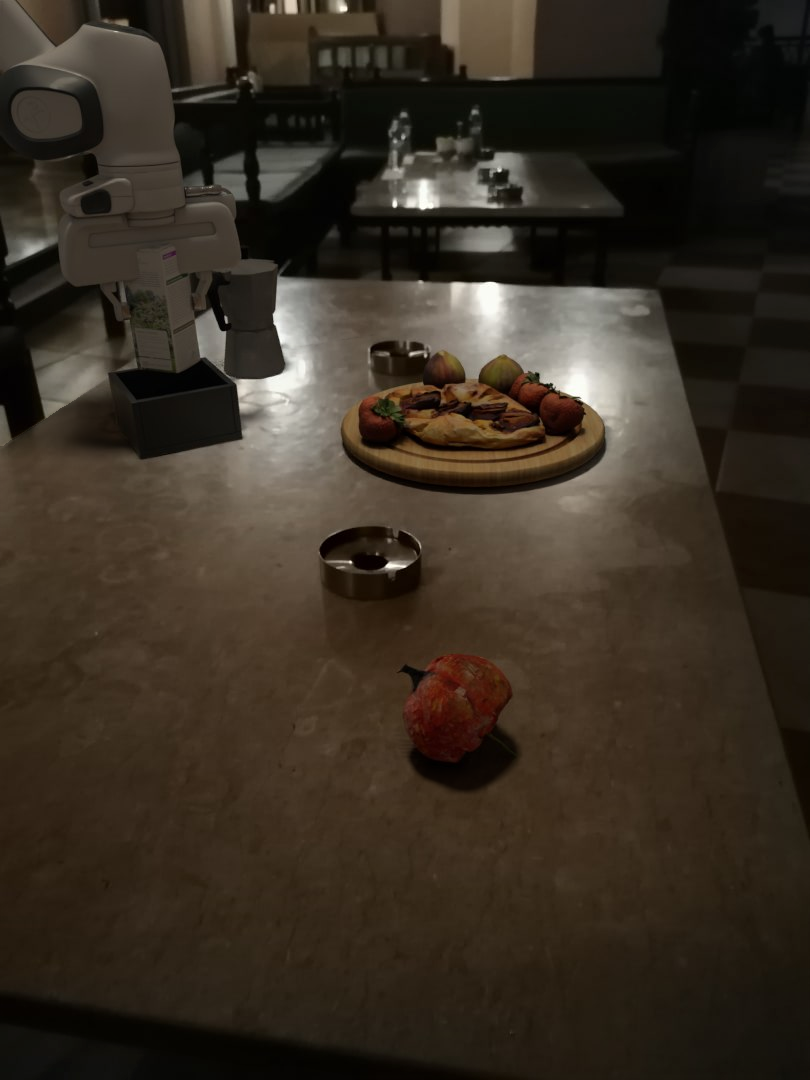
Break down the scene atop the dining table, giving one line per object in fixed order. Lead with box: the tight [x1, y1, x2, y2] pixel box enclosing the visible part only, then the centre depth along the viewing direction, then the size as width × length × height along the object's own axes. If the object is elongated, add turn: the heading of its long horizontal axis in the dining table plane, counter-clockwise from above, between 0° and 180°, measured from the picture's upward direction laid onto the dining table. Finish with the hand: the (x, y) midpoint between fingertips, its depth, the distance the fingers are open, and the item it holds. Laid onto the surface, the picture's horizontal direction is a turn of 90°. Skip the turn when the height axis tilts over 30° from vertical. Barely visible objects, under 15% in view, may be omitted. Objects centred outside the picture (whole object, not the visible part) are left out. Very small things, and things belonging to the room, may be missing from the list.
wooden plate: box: [340, 349, 606, 488], centre depth 109 cm, size 32×32×8 cm
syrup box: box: [122, 243, 201, 373], centre depth 107 cm, size 6×6×14 cm
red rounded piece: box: [396, 653, 518, 764], centre depth 61 cm, size 7×7×10 cm
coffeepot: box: [206, 244, 286, 380], centre depth 130 cm, size 15×9×18 cm, turn 153°
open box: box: [107, 356, 243, 460], centre depth 113 cm, size 13×13×7 cm
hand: (161, 314), depth 107 cm, fingers closed on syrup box, 7 cm apart
